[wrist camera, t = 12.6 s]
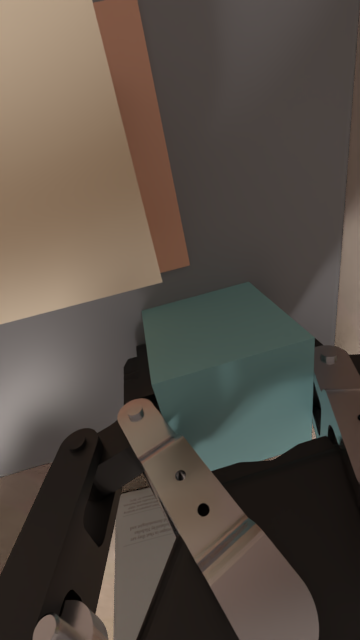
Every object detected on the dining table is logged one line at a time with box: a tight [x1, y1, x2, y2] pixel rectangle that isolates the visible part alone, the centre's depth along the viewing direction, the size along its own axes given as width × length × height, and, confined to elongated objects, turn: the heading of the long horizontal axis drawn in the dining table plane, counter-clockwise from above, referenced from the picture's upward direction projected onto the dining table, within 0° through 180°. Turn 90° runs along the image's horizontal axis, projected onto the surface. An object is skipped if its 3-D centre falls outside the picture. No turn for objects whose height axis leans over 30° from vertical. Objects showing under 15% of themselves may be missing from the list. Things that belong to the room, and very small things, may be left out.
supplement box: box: [114, 488, 176, 640], centre depth 16 cm, size 7×7×13 cm
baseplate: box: [0, 0, 360, 477], centre depth 12 cm, size 20×18×1 cm
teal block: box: [142, 282, 315, 471], centre depth 12 cm, size 5×5×5 cm
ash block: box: [0, 0, 162, 324], centre depth 7 cm, size 5×5×5 cm
